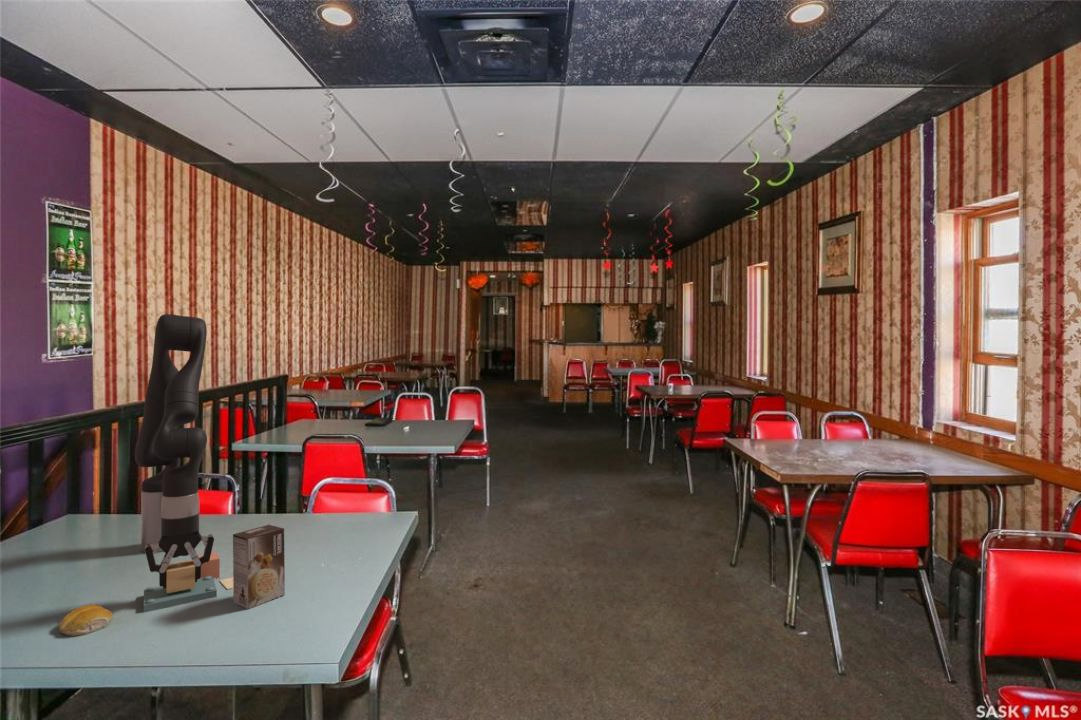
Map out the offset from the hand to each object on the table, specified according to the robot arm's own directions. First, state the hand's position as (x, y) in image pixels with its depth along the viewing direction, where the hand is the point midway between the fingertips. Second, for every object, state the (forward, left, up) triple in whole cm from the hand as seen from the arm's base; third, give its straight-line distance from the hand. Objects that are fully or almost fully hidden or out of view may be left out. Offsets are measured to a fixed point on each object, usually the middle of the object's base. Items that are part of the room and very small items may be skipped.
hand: (180, 583), depth 131 cm
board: (0, 0, -3) cm, 3 cm away
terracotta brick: (-10, +6, -3) cm, 12 cm away
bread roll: (+6, -17, -3) cm, 18 cm away
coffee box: (+12, +15, -3) cm, 19 cm away
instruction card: (-2, +14, -3) cm, 14 cm away
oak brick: (0, 0, -1) cm, 1 cm away
